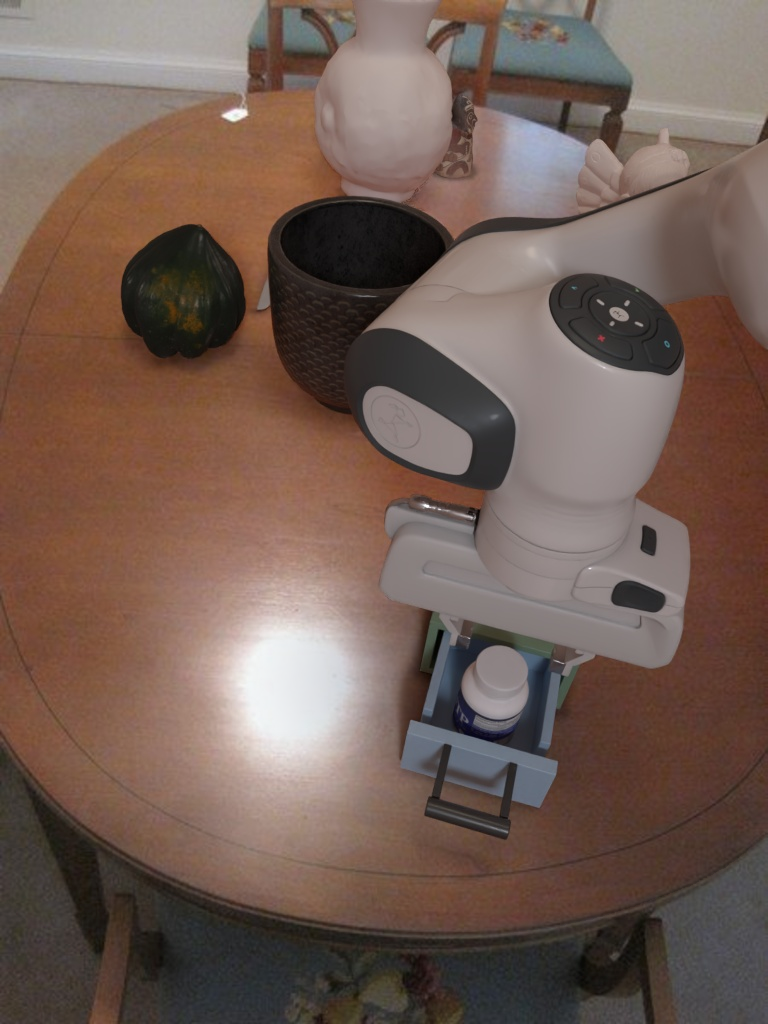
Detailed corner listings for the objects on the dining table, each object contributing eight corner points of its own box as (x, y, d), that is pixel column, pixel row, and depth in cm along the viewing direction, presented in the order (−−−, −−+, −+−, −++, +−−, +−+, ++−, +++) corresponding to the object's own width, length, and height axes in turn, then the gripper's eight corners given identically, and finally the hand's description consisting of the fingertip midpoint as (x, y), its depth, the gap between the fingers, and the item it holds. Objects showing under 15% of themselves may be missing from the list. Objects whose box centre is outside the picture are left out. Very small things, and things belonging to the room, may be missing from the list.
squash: (83, 330, 97) (164, 244, 89) (112, 262, 107) (186, 181, 100) (186, 402, 104) (268, 328, 97) (203, 332, 115) (279, 261, 107)
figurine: (462, 182, 140) (474, 107, 131) (422, 170, 141) (431, 95, 132) (478, 165, 144) (490, 91, 135) (439, 154, 146) (448, 80, 137)
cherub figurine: (593, 310, 118) (636, 168, 103) (552, 261, 125) (587, 123, 111) (675, 299, 121) (728, 160, 106) (630, 252, 129) (674, 117, 114)
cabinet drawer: (528, 879, 64) (547, 846, 59) (381, 835, 65) (387, 799, 61) (559, 677, 76) (576, 637, 72) (434, 643, 77) (443, 601, 73)
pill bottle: (450, 694, 73) (466, 634, 66) (511, 698, 73) (533, 639, 66) (451, 752, 69) (468, 695, 63) (516, 756, 69) (540, 700, 63)
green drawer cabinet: (559, 709, 75) (581, 661, 69) (419, 670, 76) (430, 621, 71) (577, 591, 84) (597, 540, 79) (451, 558, 86) (462, 506, 80)
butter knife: (307, 218, 127) (288, 215, 127) (271, 310, 111) (249, 306, 111) (307, 221, 127) (288, 218, 127) (271, 312, 111) (249, 309, 111)
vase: (358, 237, 125) (373, 10, 103) (293, 171, 137) (294, -45, 115) (464, 213, 133) (499, -3, 111) (393, 153, 145) (413, -54, 123)
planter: (307, 460, 93) (310, 311, 79) (246, 355, 105) (240, 208, 91) (465, 419, 100) (494, 275, 86) (392, 324, 112) (407, 183, 98)
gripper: (374, 524, 53) (362, 650, 63) (712, 610, 50) (642, 727, 60) (400, 456, 57) (384, 585, 67) (713, 532, 54) (648, 654, 64)
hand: (509, 653), depth 64 cm, fingers open, 6 cm apart
